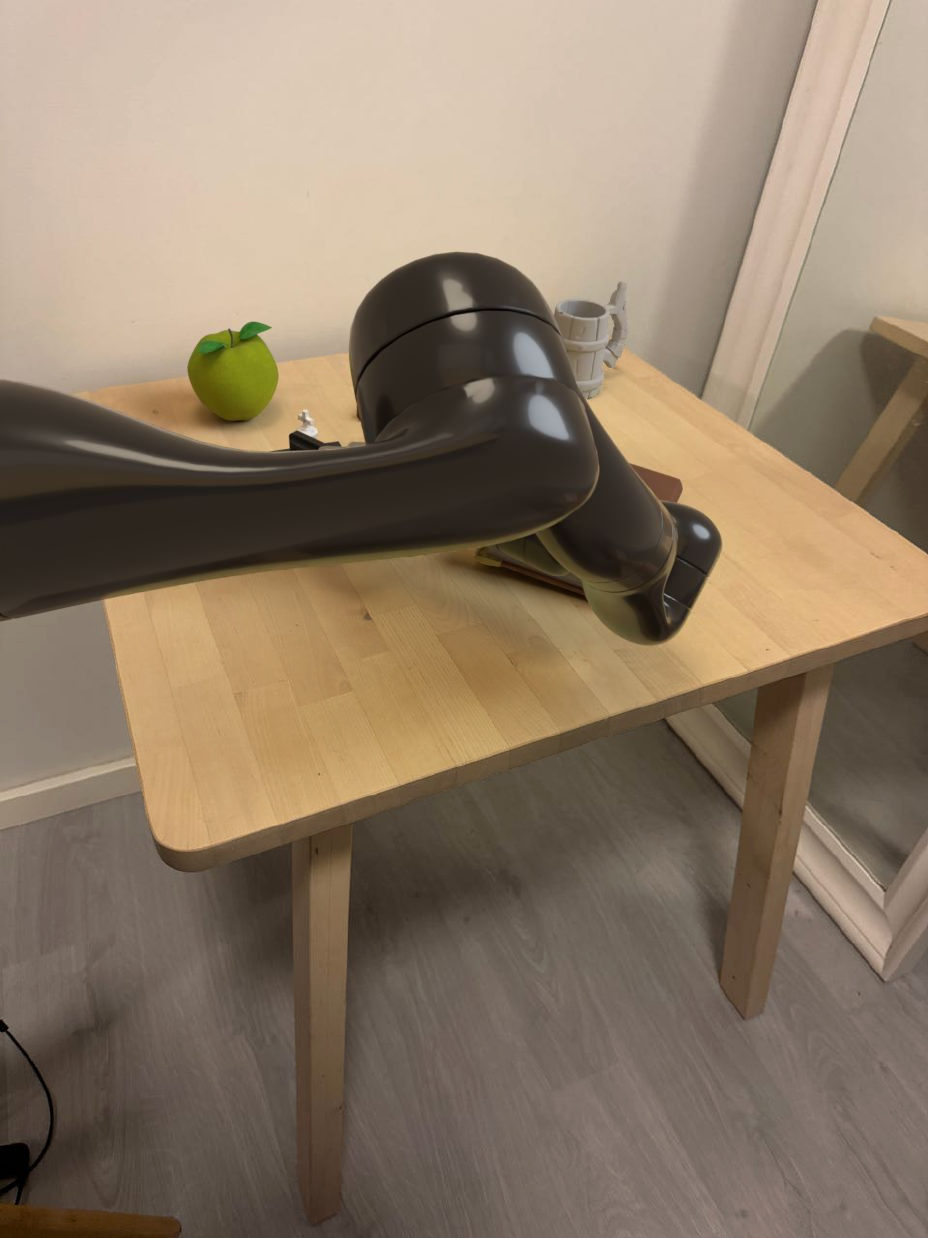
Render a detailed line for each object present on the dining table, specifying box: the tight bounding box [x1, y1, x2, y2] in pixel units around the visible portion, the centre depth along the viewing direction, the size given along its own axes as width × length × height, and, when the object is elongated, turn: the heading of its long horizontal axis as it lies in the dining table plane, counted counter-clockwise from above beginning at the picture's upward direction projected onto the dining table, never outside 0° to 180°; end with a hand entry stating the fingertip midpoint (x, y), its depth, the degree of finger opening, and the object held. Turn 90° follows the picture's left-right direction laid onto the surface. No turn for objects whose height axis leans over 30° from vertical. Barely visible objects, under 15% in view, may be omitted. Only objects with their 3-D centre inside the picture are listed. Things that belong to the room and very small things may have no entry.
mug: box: [553, 280, 630, 400], centre depth 109 cm, size 8×12×12 cm, turn 126°
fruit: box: [187, 321, 280, 422], centre depth 98 cm, size 9×9×10 cm
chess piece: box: [295, 408, 319, 439], centre depth 84 cm, size 5×5×10 cm
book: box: [472, 462, 684, 596], centre depth 88 cm, size 16×25×5 cm, turn 157°
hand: (326, 424), depth 80 cm, fingers open, 8 cm apart
